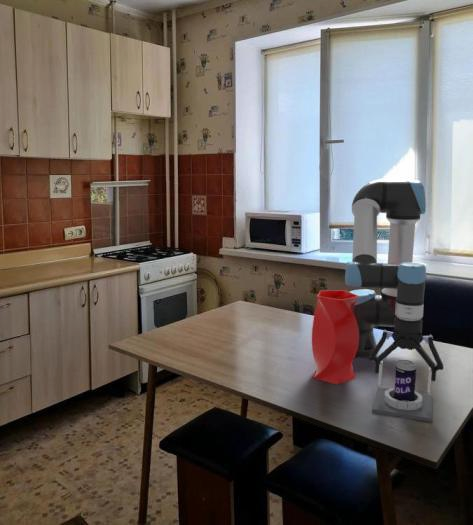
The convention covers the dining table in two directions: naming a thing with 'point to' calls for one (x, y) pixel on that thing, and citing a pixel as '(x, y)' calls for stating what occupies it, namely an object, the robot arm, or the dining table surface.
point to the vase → (335, 336)
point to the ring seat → (403, 405)
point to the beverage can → (405, 381)
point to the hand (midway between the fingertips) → (403, 387)
